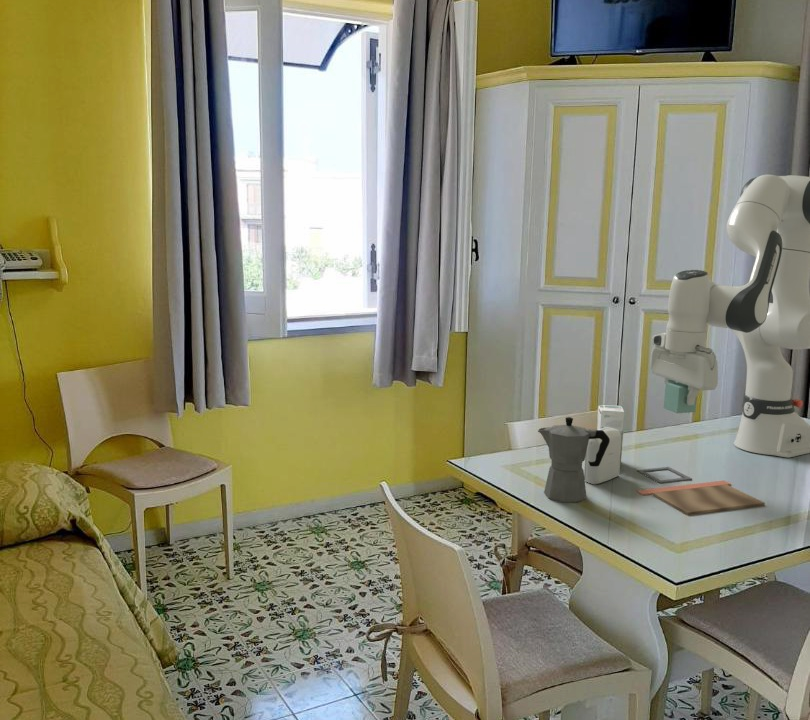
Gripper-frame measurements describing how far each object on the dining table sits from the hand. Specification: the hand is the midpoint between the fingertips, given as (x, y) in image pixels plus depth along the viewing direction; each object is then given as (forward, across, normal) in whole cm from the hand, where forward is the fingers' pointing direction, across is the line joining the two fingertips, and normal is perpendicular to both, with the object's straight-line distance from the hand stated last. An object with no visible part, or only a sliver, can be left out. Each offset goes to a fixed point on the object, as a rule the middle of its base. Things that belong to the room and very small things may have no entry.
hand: (680, 401), depth 185 cm
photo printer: (+20, +6, +16) cm, 26 cm away
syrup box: (+20, +16, +8) cm, 27 cm away
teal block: (+2, 0, 0) cm, 2 cm away
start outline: (+19, +4, 0) cm, 20 cm away
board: (+19, -13, 0) cm, 23 cm away
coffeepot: (+20, -2, +29) cm, 35 cm away
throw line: (+19, -5, +1) cm, 20 cm away
